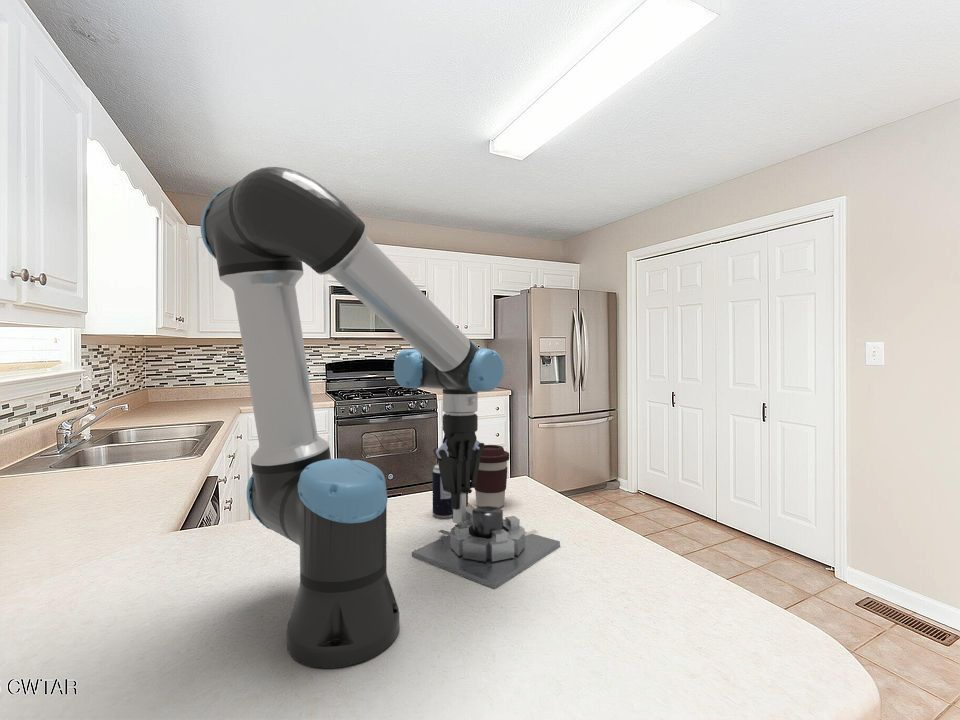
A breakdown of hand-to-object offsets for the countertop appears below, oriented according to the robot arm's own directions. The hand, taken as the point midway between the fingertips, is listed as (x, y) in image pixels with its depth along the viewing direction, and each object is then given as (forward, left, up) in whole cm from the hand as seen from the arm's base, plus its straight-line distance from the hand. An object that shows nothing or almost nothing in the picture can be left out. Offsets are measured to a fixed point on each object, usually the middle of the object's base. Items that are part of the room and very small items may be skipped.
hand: (459, 523), depth 101 cm
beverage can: (+7, +11, -3) cm, 14 cm away
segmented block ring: (-1, -7, -2) cm, 7 cm away
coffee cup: (+20, +7, -3) cm, 22 cm away
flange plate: (-2, -8, -3) cm, 9 cm away
